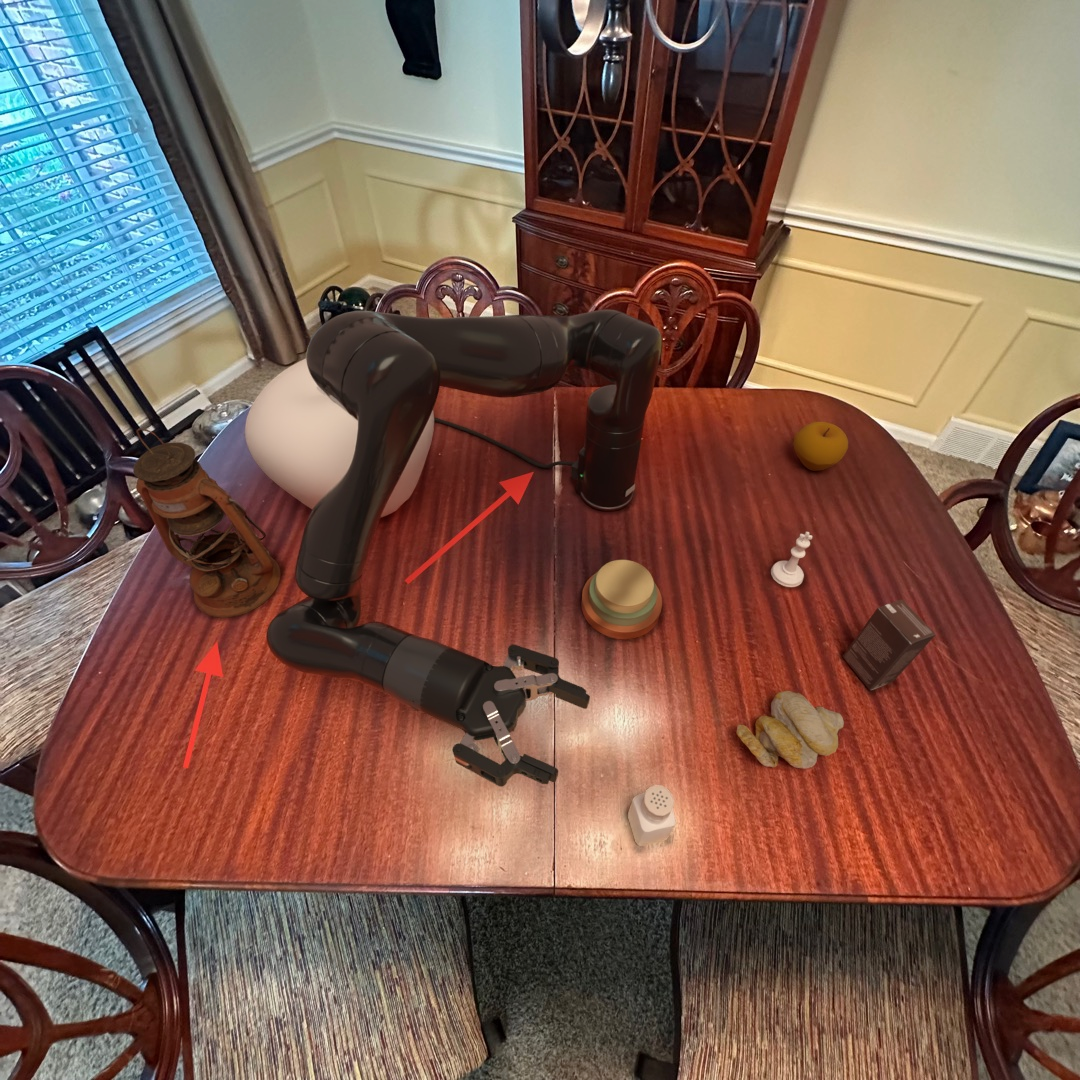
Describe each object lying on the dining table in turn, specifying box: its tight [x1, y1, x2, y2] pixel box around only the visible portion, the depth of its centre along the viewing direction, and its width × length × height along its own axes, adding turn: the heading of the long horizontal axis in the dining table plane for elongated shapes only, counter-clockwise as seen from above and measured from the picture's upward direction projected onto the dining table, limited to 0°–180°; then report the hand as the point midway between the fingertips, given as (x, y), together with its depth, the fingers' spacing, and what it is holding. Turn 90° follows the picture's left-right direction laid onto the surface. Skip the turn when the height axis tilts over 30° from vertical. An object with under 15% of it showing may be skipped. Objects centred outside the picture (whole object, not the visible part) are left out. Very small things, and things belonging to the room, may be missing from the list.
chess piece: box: [770, 531, 813, 588], centre depth 92 cm, size 5×5×10 cm
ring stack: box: [580, 559, 663, 640], centre depth 89 cm, size 12×12×6 cm
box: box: [842, 599, 937, 691], centre depth 80 cm, size 6×4×12 cm
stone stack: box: [736, 690, 845, 770], centre depth 76 cm, size 10×6×15 cm
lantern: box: [132, 427, 281, 619], centre depth 83 cm, size 17×13×30 cm
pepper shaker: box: [627, 784, 677, 847], centre depth 67 cm, size 4×4×10 cm
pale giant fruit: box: [244, 358, 435, 519], centre depth 98 cm, size 28×27×25 cm
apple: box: [792, 420, 849, 472], centre depth 109 cm, size 9×9×9 cm
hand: (573, 737), depth 62 cm, fingers open, 8 cm apart
